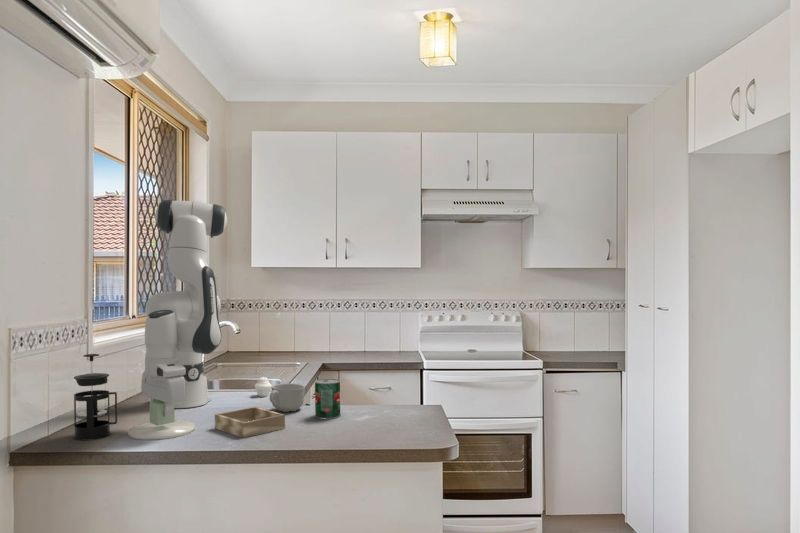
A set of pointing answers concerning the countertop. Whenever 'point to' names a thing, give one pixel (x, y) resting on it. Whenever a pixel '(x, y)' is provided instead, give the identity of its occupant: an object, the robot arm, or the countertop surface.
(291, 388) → the teacup
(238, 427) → the wooden frame
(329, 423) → the countertop surface
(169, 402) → the robot arm
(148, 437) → the white round dish
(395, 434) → the countertop surface
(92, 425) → the french press
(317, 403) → the canned tomato
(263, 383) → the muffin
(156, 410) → the block
